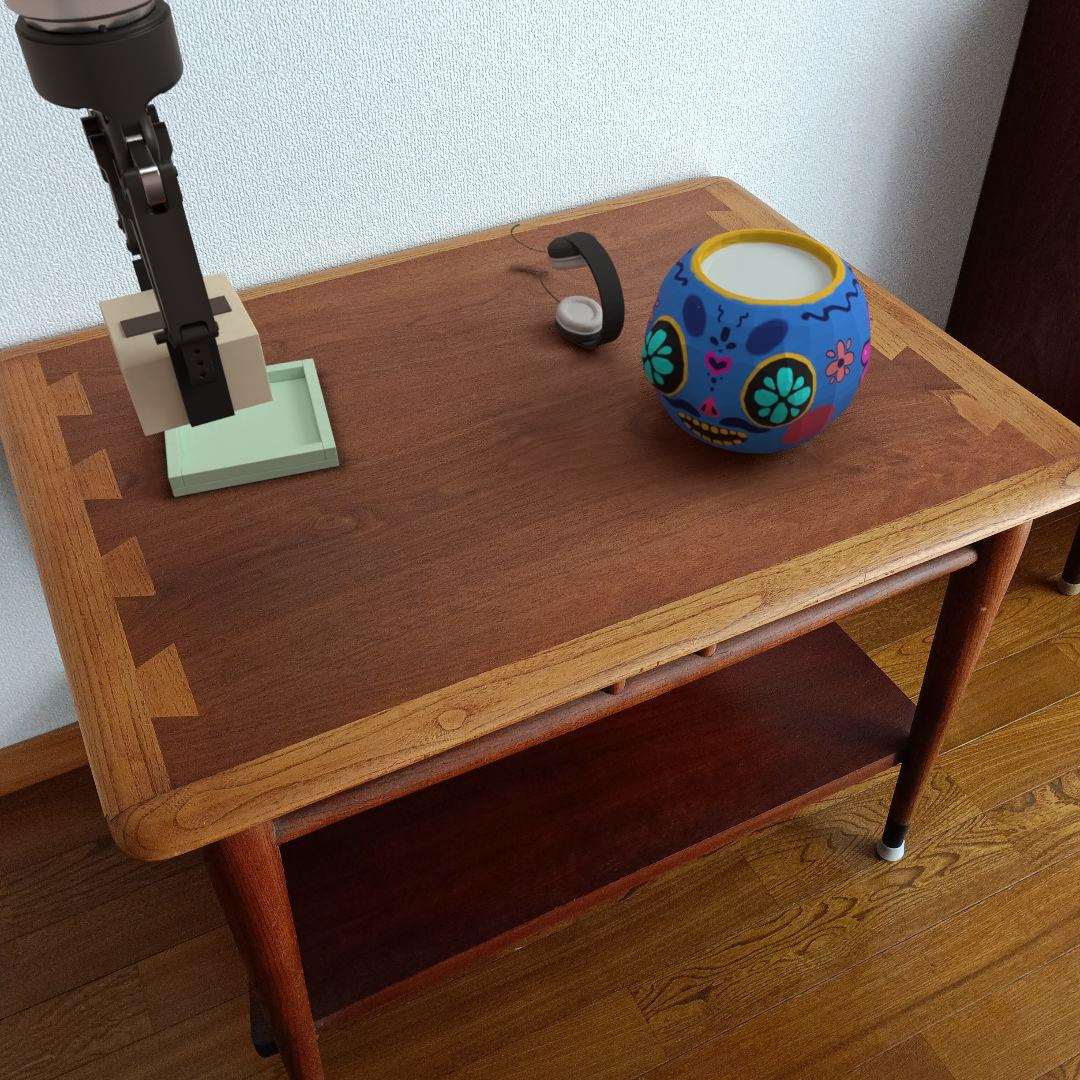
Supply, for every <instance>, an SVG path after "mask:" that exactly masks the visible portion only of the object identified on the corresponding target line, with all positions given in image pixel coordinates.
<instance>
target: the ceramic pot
mask: <svg viewBox="0 0 1080 1080" xmlns="http://www.w3.org/2000/svg"><path fill="white" fill-rule="evenodd" d="M868 303H869V302H868V300H867V298H866V295H865V293H864V291H863V288H862V287H861V284H860V282H859V280H858V279H857V277H856V275H855V273H854V271H853V270H852V267H851V266H850V265H849V263H847V262H846V261H845V260H844V259H843V258H842V257H841V256H839V255H838V254H837V253H836V252H835V251H834V250H833V249H831V248H830V247H829V246H828V245H826V244H824V243H822V242H820V241H817V240H815V239H813V238H812V237H809V236H807V235H803V234H799V233H797V232H793V231H788V230H782V229H773V228H761V227H759V228H745V229H735V230H730V231H728V232H723V233H720V234H715V235H713V236H711V237H709V238H708V239H705V240H704V241H702V242H700V243H698V244H696V245H694V246H693V247H691V248H690V249H689V250H688V251H686V253H685V254H684V255H683V256H682V257H680V259H678V261H676V263H675V264H674V265H673V266H672V267H671V268H670V270H669V271H668V272H667V274H666V275H665V277H664V278H663V280H662V283H661V285H660V287H659V288H658V292H657V295H656V297H655V301H654V303H653V306H652V309H651V311H650V312H651V313H650V315H649V319H648V322H647V324H646V329H645V334H644V342H643V345H642V349H641V363H642V364H641V365H642V368H643V371H644V373H645V375H646V377H647V379H648V380H649V382H650V384H651V385H652V387H653V389H654V391H655V394H656V395H657V396H658V399H659V401H660V403H661V404H662V406H663V408H664V409H665V410H666V412H667V414H668V415H669V416H670V417H671V419H672V420H673V421H674V422H675V424H677V426H679V427H680V428H681V429H682V430H683V431H685V432H686V433H688V434H689V435H691V436H692V437H694V438H696V439H697V440H699V441H701V442H703V443H706V444H708V445H712V446H714V447H716V448H719V449H723V450H727V451H731V452H737V453H744V454H769V453H770V454H771V453H776V452H777V453H778V452H782V451H783V452H784V451H786V450H791V449H793V448H795V447H797V446H800V445H803V444H805V443H807V442H810V441H811V440H813V439H814V438H815V437H816V436H817V435H818V434H820V433H821V432H822V431H824V430H825V429H826V428H827V427H828V426H830V425H831V424H832V423H833V422H834V421H836V419H838V418H839V417H840V416H842V414H843V413H844V412H845V411H846V410H847V408H849V407H850V405H851V403H852V401H854V400H853V399H854V398H855V396H856V393H857V392H858V389H859V387H860V386H861V383H862V382H863V379H864V378H865V375H866V373H867V371H868V368H869V365H870V359H871V344H872V343H871V340H872V339H871V338H872V337H871V336H872V335H871V334H872V326H871V313H870V308H869V304H868Z"/></svg>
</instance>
